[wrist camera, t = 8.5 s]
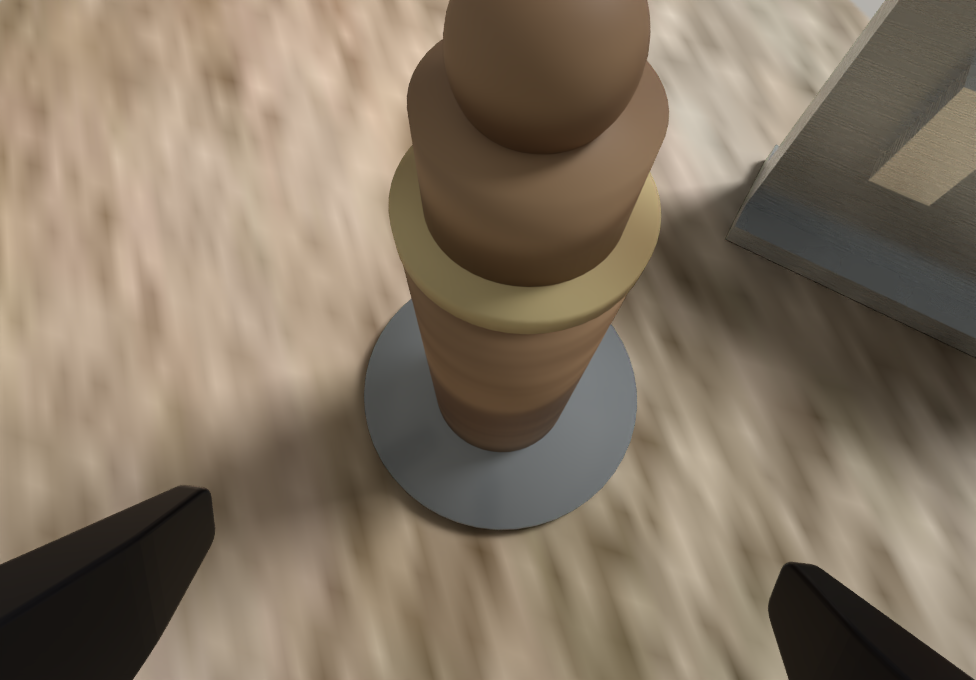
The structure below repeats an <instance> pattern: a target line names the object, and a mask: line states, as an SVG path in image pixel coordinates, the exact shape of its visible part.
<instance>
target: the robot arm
mask: <svg viewBox="0 0 976 680" xmlns="http://www.w3.org/2000/svg"><path fill="white" fill-rule="evenodd" d="M214 535H215V524H214V515H213V506H212V498H211V493H210V491H209V490H208V489H206V488H204V487H198V486H190V485H180V486H177V487H175V488H172V489H170V490H168V491H166V492H163V493H161V494H159V495H157V496H154V497H152V498H150V499H148V500H145V501H143V502H141V503H139V504H136V505H134V506H132V507H130V508H127V509H125V510H123V511H121V512H118V513H116V514H114V515H111V516H109V517H107V518H105V519H102V520H100V521H98V522H96V523H93V524H91V525H89V526H87V527H84V528H82V529H80V530H78V531H75V532H73V533H71V534H69V535H66V536H64V537H62V538H59V539H57V540H55V541H53V542H50V543H48V544H46V545H44V546H41V547H39V548H37V549H35V550H32V551H30V552H28V553H26V554H23V555H21V556H19V557H17V558H14V559H12V560H10V561H7V562H5V563H3V564H1V565H0V680H133V679H134V677H135V676H136V674H137V673H138V671H139V670H140V668H141V667H142V665H143V664H144V662H145V661H146V659H147V658H148V656H149V655H150V653H151V652H152V650H153V648H154V647H155V645H156V644H157V642H158V641H159V639H160V637H161V636H162V634H163V632H164V630H165V629H166V627H167V625H168V623H169V622H170V620H171V618H172V616H173V614H174V612H175V611H176V609H177V607H178V605H179V603H180V601H181V600H182V598H183V596H184V594H185V592H186V590H187V589H188V587H189V585H190V583H191V581H192V579H193V578H194V576H195V574H196V572H197V570H198V568H199V567H200V565H201V563H202V561H203V559H204V557H205V556H206V554H207V552H208V550H209V548H210V546H211V544H212V542H213V539H214ZM768 613H769V618H770V622H771V625H772V628H773V631H774V634H775V638H776V641H777V644H778V647H779V650H780V654H781V657H782V660H783V663H784V666H785V669H786V673H787V676H788V679H789V680H974V679H973V678H972V677H970V676H969V675H967V674H966V673H965V672H963V671H962V670H961V669H959V668H958V667H956V666H955V665H954V664H952V663H951V662H949V661H948V660H947V659H945V658H944V657H943V656H941V655H940V654H938V653H937V652H936V651H934V650H933V649H932V648H930V647H929V646H927V645H926V644H925V643H923V642H922V641H920V640H919V639H918V638H916V637H915V636H914V635H912V634H911V633H909V632H908V631H907V630H905V629H904V628H902V627H901V626H900V625H898V624H897V623H896V622H894V621H893V620H891V619H890V618H889V617H887V616H886V615H884V614H883V613H882V612H880V611H879V610H878V609H876V608H875V607H873V606H872V605H871V604H869V603H868V602H867V601H865V600H864V599H862V598H861V597H860V596H858V595H857V594H855V593H854V592H853V591H851V590H850V589H849V588H847V587H846V586H844V585H843V584H842V583H840V582H839V581H838V580H836V579H835V578H833V577H832V576H831V575H829V574H828V573H826V572H825V571H824V570H822V569H821V568H819V567H818V566H816V565H812V564H806V563H798V562H787V563H786V564H784V565H783V567H782V569H781V571H780V574H779V576H778V579H777V581H776V584H775V586H774V589H773V591H772V594H771V597H770V599H769V604H768Z"/></svg>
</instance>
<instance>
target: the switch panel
mask: <svg viewBox="0 0 976 680" xmlns="http://www.w3.org/2000/svg"><path fill="white" fill-rule="evenodd" d="M725 239H726V240H728V241H731V242H733V243H735V244H737V245H739V246H741V247H743V248H745V249H747V250H750V251H752V252H754V253H756V254H758V255H760V256H762V257H764V258H766V259H769V260H771V261H773V262H775V263H777V264H779V265H781V266H783V267H785V268H788V269H790V270H792V271H794V272H796V273H798V274H800V275H802V276H804V277H807V278H809V279H811V280H813V281H815V282H817V283H819V284H821V285H824V286H826V287H828V288H830V289H832V290H834V291H836V292H838V293H840V294H843V295H845V296H847V297H849V298H851V299H853V300H855V301H857V302H859V303H862V304H864V305H866V306H868V307H870V308H872V309H874V310H876V311H878V312H881V313H883V314H885V315H887V316H889V317H891V318H893V319H895V320H897V321H900V322H902V323H904V324H906V325H908V326H910V327H912V328H914V329H916V330H919V331H921V332H923V333H925V334H927V335H929V336H931V337H933V338H935V339H938V340H940V341H942V342H944V343H946V344H948V345H950V346H952V347H954V348H957V349H959V350H961V351H963V352H965V353H967V354H969V355H971V356H973V357H976V0H885V1H884V3H883V4H882V5H881V7H880V8H879V10H878V11H877V12H876V14H875V15H874V16H873V18H872V19H871V20H870V22H869V23H868V25H867V26H866V27H865V29H864V30H863V32H862V33H861V34H860V36H859V37H858V38H857V40H856V41H855V43H854V44H853V45H852V47H851V48H850V49H849V51H848V52H847V54H846V55H845V56H844V58H843V59H842V60H841V62H840V63H839V65H838V66H837V67H836V69H835V70H834V71H833V73H832V74H831V76H830V77H829V78H828V80H827V81H826V83H825V84H824V85H823V87H822V88H821V89H820V91H819V92H818V94H817V95H816V96H815V98H814V99H813V100H812V102H811V103H810V105H809V106H808V107H807V109H806V110H805V111H804V113H803V114H802V116H801V117H800V118H799V120H798V121H797V122H796V124H795V125H794V127H793V128H792V129H791V131H790V132H789V133H788V135H787V136H786V138H785V139H784V140H783V142H782V143H781V145H780V146H778V145H776V146H775V147H774V148H773V150H772V151H771V153H770V154H769V155H768V157H767V158H766V160H765V162H764V164H763V166H762V168H761V170H760V172H759V174H758V175H757V177H756V179H755V181H754V183H753V185H752V187H751V189H750V191H749V193H748V195H747V197H746V199H745V201H744V203H743V205H742V207H741V209H740V211H739V213H738V215H737V217H736V219H735V221H734V223H733V225H732V226H731V228H730V230H729V232H728V234H727V236H726V238H725Z"/></svg>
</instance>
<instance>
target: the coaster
mask: <svg viewBox="0 0 976 680" xmlns="http://www.w3.org/2000/svg"><path fill="white" fill-rule="evenodd" d="M364 403H365V415H366V420H367V425H368V430H369V433H370V435H371V438H372V441H373V444H374V447H375V449H376V451H377V453H378V454H379V456H380V458H381V460H382V462H383V464H384V465H385V467H386V468H387V469H388V471H389V472H390V474H391V475H392V476H393V478H394V479H395V480H396V481H397V482H398V483H399V484H400V485H401V486H402V487H403V489H404V490H405V491H406V492H407V493H408V494H409V495H411V496H412V497H413V498H414V499H416V500H417V501H418V502H419V503H421V504H422V505H423V506H425V507H426V508H428V509H430V510H431V511H433V512H435V513H437V514H438V515H440V516H442V517H445V518H447V519H449V520H452V521H454V522H457V523H460V524H464V525H467V526H471V527H475V528H482V529H491V530H516V529H522V528H528V527H534V526H537V525H540V524H544V523H547V522H550V521H553V520H555V519H557V518H559V517H561V516H563V515H565V514H567V513H569V512H571V511H573V510H574V509H576V508H577V507H579V506H580V505H582V504H583V503H585V502H586V501H588V500H589V499H590V498H591V497H592V496H593V495H595V494H596V493H597V492H598V491H599V490H600V489H601V488H602V487H603V486H604V485H605V484H606V482H607V481H608V480H609V479H610V477H611V476H612V475H613V474H614V472H615V471H616V469H617V467H618V466H619V464H620V463H621V461H622V459H623V457H624V455H625V453H626V450H627V448H628V446H629V443H630V441H631V437H632V433H633V430H634V426H635V419H636V411H637V390H636V383H635V377H634V372H633V368H632V365H631V362H630V358H629V356H628V354H627V351H626V349H625V347H624V344H623V342H622V341H621V339H620V337H619V336H618V334H617V332H616V331H615V329H614V328H613V326H612V325H611V324H610V326H609V328H608V330H607V332H606V334H605V335H604V337H603V339H602V341H601V343H600V344H599V346H598V348H597V350H596V352H595V353H594V355H593V357H592V359H591V361H590V363H589V364H588V366H587V368H586V370H585V372H584V373H583V375H582V377H581V379H580V381H579V382H578V384H577V386H576V388H575V390H574V392H573V393H572V395H571V397H570V399H569V401H568V402H567V404H566V406H565V408H564V410H563V412H562V413H561V415H560V417H559V419H558V420H557V422H556V424H555V425H554V427H553V428H552V429H551V430H550V431H549V433H548V434H546V435H545V436H544V437H543V438H542V439H541V440H539V441H538V442H536V443H535V444H533V445H531V446H529V447H526V448H523V449H520V450H516V451H511V452H492V451H487V450H483V449H480V448H477V447H475V446H473V445H471V444H469V443H467V442H465V441H464V440H462V439H461V438H460V437H459V436H457V435H456V434H455V433H454V432H453V431H452V430H451V428H450V427H449V426H448V425H447V423H446V421H445V420H444V418H443V416H442V414H441V412H440V409H439V406H438V402H437V398H436V394H435V390H434V386H433V382H432V378H431V374H430V370H429V366H428V362H427V358H426V354H425V350H424V346H423V342H422V338H421V334H420V330H419V326H418V322H417V318H416V314H415V310H414V306H413V302H412V299H411V300H409V301H408V302H407V303H406V304H405V305H404V306H402V308H401V309H400V310H399V311H398V312H397V313H396V314H395V315H394V316H393V317H392V319H391V320H390V321H389V323H388V324H387V326H386V327H385V329H384V330H383V331H382V333H381V335H380V337H379V339H378V341H377V343H376V345H375V347H374V349H373V352H372V355H371V358H370V360H369V364H368V369H367V373H366V378H365V390H364Z"/></svg>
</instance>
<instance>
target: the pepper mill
mask: <svg viewBox="0 0 976 680" xmlns="http://www.w3.org/2000/svg"><path fill="white" fill-rule="evenodd" d="M649 42H650V14H649V7H648V2H647V0H450V1H449V4H448V8H447V11H446V17H445V24H444V31H443V39H442V40H441V41H440V42H438V43H437V44H436V45H435V46H434V47H433V48H431V49H430V50H429V51H428V52H427V53H426V55H425V56H424V57H423V58H422V60H421V61H420V62H419V64H418V66H417V67H416V69H415V71H414V73H413V75H412V78H411V81H410V83H409V88H408V93H407V111H408V118H409V124H410V131H411V137H412V144H413V145H412V146H411V147H410V148H409V150H408V151H407V152H406V154H405V155H404V156H403V158H402V160H401V162H400V163H399V165H398V167H397V169H396V171H395V174H394V177H393V180H392V183H391V188H390V193H389V217H390V224H391V229H392V233H393V236H394V240H395V244H396V247H397V251H398V254H399V257H400V259H401V261H402V263H403V266H404V270H405V274H406V278H407V282H408V286H409V290H410V294H411V298H412V302H413V306H414V310H415V314H416V318H417V322H418V326H419V330H420V334H421V338H422V342H423V346H424V350H425V354H426V358H427V362H428V366H429V370H430V374H431V378H432V382H433V386H434V390H435V394H436V398H437V402H438V406H439V409H440V412H441V414H442V416H443V418H444V420H445V421H446V423H447V425H448V426H449V427H450V428H451V430H452V431H453V432H454V433H455V434H456V435H457V436H459V437H460V438H461V439H462V440H464V441H465V442H467V443H469V444H471V445H473V446H475V447H477V448H480V449H483V450H487V451H492V452H511V451H516V450H520V449H523V448H526V447H529V446H531V445H533V444H535V443H536V442H538V441H539V440H541V439H542V438H543V437H544V436H545V435H546V434H548V433H549V431H550V430H551V429H552V428H553V427H554V425H555V424H556V422H557V420H558V419H559V417H560V415H561V413H562V412H563V410H564V408H565V406H566V404H567V402H568V401H569V399H570V397H571V395H572V393H573V392H574V390H575V388H576V386H577V384H578V382H579V381H580V379H581V377H582V375H583V373H584V372H585V370H586V368H587V366H588V364H589V363H590V361H591V359H592V357H593V355H594V353H595V352H596V350H597V348H598V346H599V344H600V343H601V341H602V339H603V337H604V335H605V334H606V332H607V330H608V328H609V326H610V324H611V323H612V321H613V319H614V317H615V315H616V314H617V312H618V310H619V308H620V306H621V304H622V303H623V301H624V299H625V297H626V295H627V294H628V292H629V291H630V290H631V289H632V287H633V286H634V285H635V283H636V282H637V280H638V278H639V277H640V275H641V274H642V272H643V270H644V268H645V266H646V265H647V263H648V261H649V259H650V258H651V256H652V253H653V251H654V248H655V246H656V244H657V240H658V236H659V232H660V226H661V206H660V198H659V195H658V191H657V187H656V184H655V182H654V180H653V177H652V175H651V173H650V170H651V168H652V165H653V163H654V161H655V158H656V156H657V154H658V152H659V149H660V147H661V145H662V142H663V140H664V138H665V135H666V131H667V127H668V121H669V107H668V99H667V96H666V93H665V89H664V87H663V85H662V83H661V80H660V78H659V76H658V75H657V73H656V72H655V71H654V69H653V68H652V66H651V65H650V64H649V63H648V62H647V57H648V51H649Z"/></svg>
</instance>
